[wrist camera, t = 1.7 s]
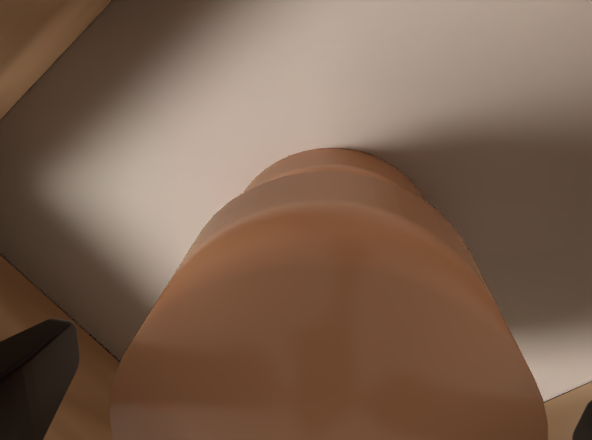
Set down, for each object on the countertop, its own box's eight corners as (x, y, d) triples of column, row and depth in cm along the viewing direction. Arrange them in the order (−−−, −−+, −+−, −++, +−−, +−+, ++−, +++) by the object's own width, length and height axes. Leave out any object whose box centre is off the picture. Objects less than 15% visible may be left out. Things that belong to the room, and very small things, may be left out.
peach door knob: (357, 77, 11) (373, 160, 5) (497, 271, 13) (629, 499, 7) (168, 225, 13) (25, 405, 7) (310, 374, 15) (288, 618, 9)
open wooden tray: (441, -453, 8) (531, -879, 4) (814, 316, 12) (1008, 445, 9) (-117, 186, 13) (-289, 253, 10) (285, 537, 18) (270, 670, 15)
